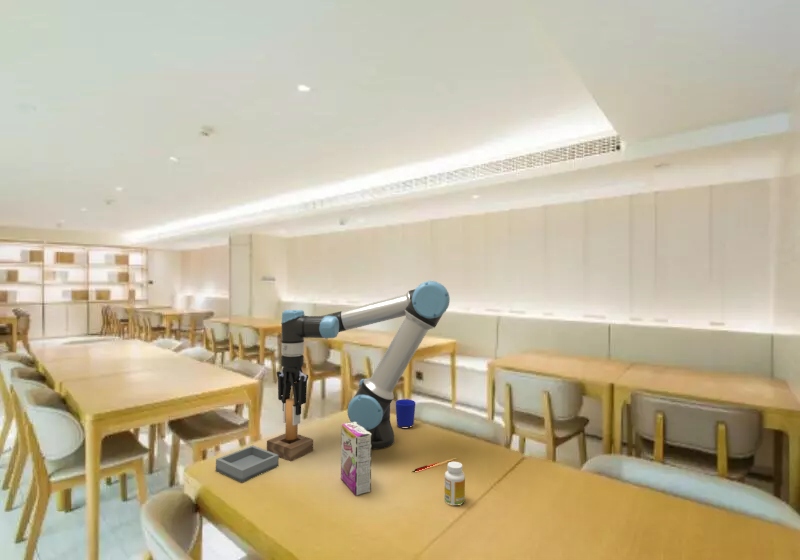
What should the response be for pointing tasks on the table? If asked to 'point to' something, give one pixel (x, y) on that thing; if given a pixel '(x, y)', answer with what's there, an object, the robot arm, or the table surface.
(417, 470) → the pen
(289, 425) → the pin
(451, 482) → the supplement bottle
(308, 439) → the hitch block
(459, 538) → the table surface
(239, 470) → the tray
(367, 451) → the candy bar box
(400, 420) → the mug
